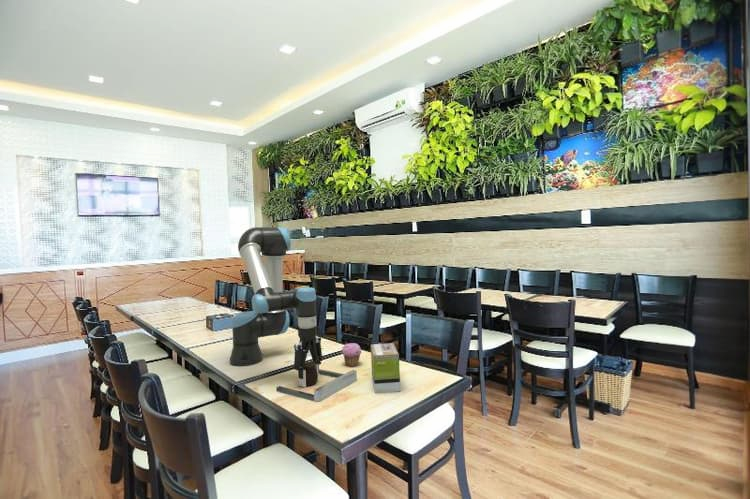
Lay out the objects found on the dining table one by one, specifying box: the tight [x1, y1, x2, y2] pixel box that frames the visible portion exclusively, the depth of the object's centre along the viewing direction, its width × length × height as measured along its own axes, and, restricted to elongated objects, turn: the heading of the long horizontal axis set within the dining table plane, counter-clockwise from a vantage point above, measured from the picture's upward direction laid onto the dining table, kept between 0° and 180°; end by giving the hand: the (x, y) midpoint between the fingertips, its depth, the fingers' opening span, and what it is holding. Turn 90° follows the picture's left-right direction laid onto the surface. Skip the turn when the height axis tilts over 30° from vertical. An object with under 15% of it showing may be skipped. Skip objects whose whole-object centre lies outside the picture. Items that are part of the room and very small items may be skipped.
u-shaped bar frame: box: [275, 368, 358, 403], centre depth 156 cm, size 21×24×4 cm
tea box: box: [370, 342, 401, 394], centre depth 155 cm, size 15×10×15 cm, turn 5°
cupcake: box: [341, 342, 362, 367], centre depth 181 cm, size 9×9×10 cm
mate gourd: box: [304, 358, 318, 386], centre depth 159 cm, size 7×8×10 cm
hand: (309, 382), depth 159 cm, fingers closed on mate gourd, 7 cm apart
